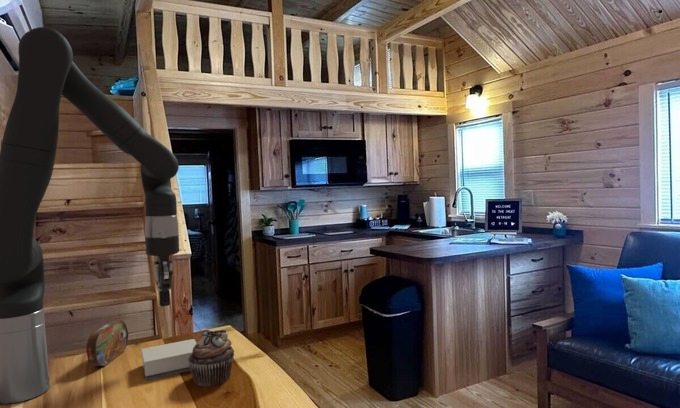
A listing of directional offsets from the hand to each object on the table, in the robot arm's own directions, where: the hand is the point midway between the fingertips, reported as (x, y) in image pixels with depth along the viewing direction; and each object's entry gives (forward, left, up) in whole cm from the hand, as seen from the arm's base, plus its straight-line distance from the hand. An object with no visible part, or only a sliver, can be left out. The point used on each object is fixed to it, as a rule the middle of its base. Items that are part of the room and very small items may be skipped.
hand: (164, 305), depth 110 cm
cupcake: (+7, -17, -13) cm, 23 cm away
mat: (0, -7, -13) cm, 15 cm away
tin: (-13, +8, -13) cm, 20 cm away
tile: (0, -1, -11) cm, 11 cm away
